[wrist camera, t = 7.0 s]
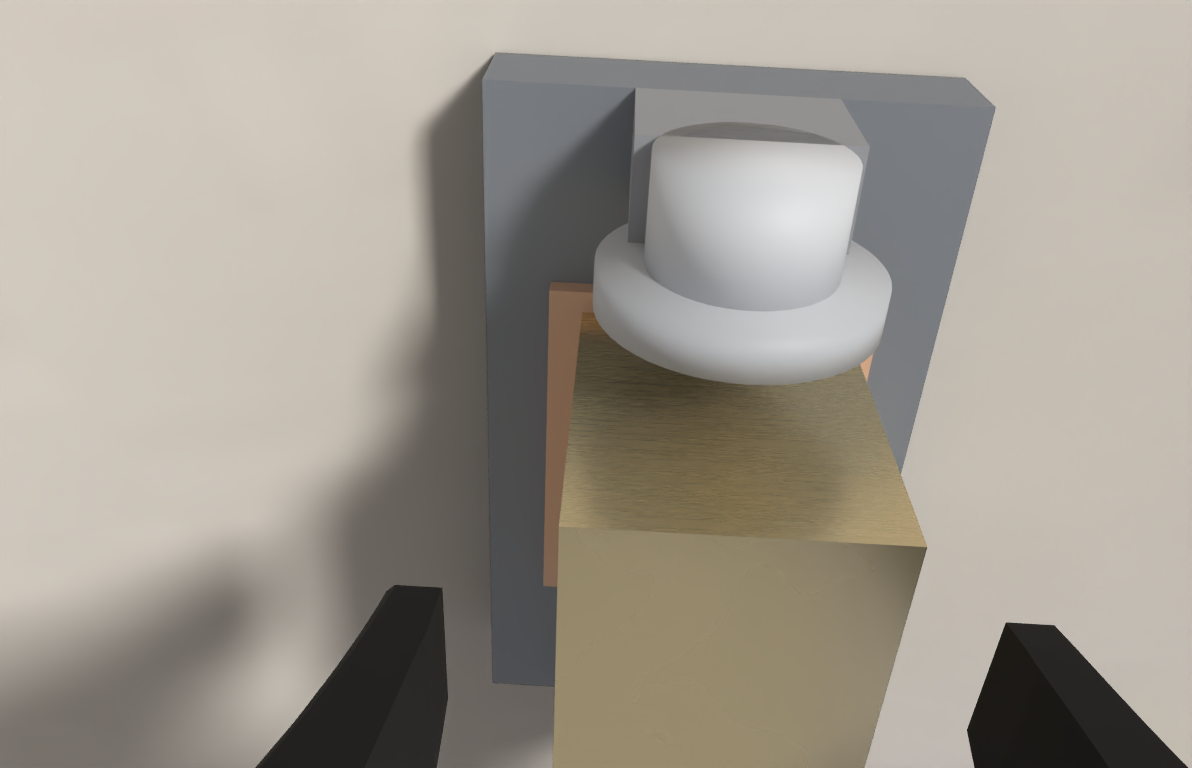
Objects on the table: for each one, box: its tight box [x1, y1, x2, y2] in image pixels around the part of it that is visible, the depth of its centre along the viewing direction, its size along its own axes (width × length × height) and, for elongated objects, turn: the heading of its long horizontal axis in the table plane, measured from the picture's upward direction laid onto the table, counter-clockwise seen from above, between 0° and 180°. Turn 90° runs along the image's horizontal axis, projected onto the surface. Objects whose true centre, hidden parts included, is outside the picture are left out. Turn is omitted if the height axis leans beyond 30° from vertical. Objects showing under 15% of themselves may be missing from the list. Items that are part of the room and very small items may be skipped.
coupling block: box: [553, 312, 927, 768], centre depth 14 cm, size 5×4×5 cm
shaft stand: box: [482, 53, 996, 687], centre depth 15 cm, size 12×7×6 cm, turn 178°
